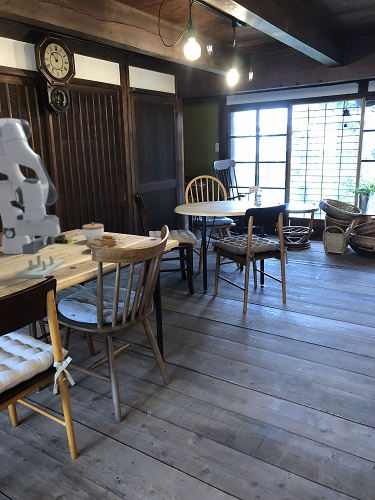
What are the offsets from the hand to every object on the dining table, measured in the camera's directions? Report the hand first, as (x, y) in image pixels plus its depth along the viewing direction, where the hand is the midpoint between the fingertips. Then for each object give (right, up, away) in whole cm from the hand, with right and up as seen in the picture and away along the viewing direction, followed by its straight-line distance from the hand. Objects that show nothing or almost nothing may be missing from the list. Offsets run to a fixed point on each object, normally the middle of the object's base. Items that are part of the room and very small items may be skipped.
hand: (39, 245), depth 185 cm
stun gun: (-9, +3, +62) cm, 63 cm away
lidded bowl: (+11, +3, +61) cm, 62 cm away
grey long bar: (0, -2, 0) cm, 2 cm away
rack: (0, -11, +3) cm, 12 cm away
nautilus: (+23, -2, +38) cm, 45 cm away
